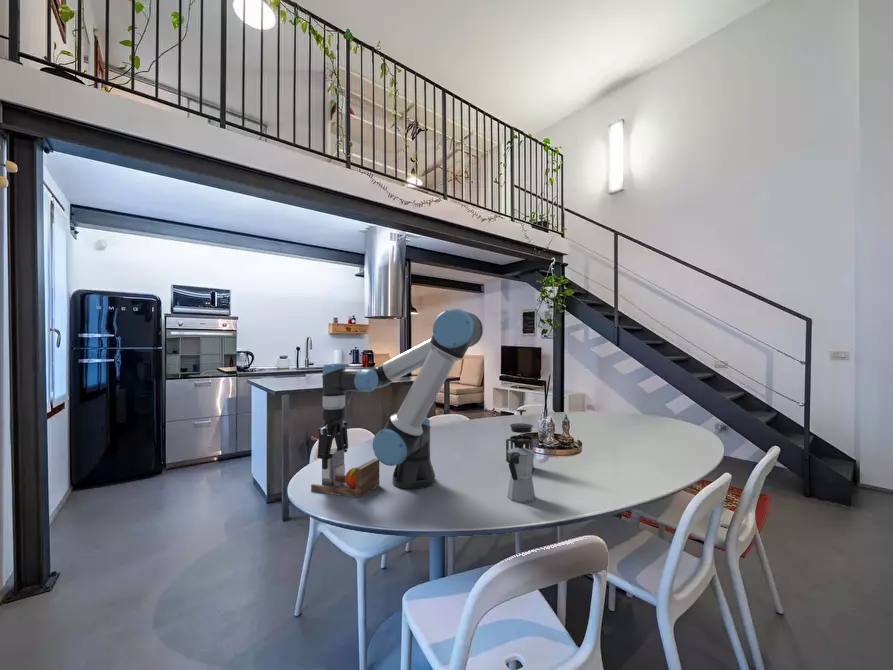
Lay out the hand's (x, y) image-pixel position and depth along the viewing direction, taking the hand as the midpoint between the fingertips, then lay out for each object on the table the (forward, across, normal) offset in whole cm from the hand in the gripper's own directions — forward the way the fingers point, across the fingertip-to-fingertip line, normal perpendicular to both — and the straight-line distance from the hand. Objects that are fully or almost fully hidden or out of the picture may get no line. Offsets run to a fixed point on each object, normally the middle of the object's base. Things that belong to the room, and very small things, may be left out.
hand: (333, 474), depth 132 cm
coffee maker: (+4, -9, +62) cm, 63 cm away
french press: (+4, -40, +58) cm, 71 cm away
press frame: (+4, 0, +5) cm, 6 cm away
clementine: (+4, 0, +8) cm, 10 cm away
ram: (+4, 0, 0) cm, 4 cm away
